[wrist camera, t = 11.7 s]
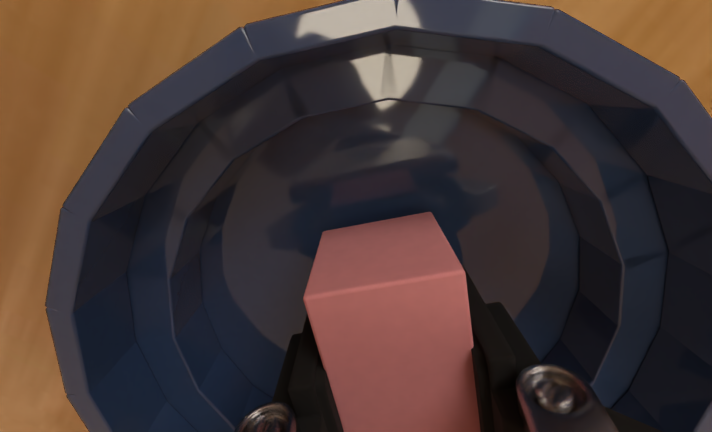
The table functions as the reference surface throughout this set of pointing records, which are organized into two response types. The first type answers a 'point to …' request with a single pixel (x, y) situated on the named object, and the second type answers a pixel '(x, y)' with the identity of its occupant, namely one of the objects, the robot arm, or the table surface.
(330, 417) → the robot arm
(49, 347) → the table surface
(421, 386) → the eraser
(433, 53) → the blue bowl
